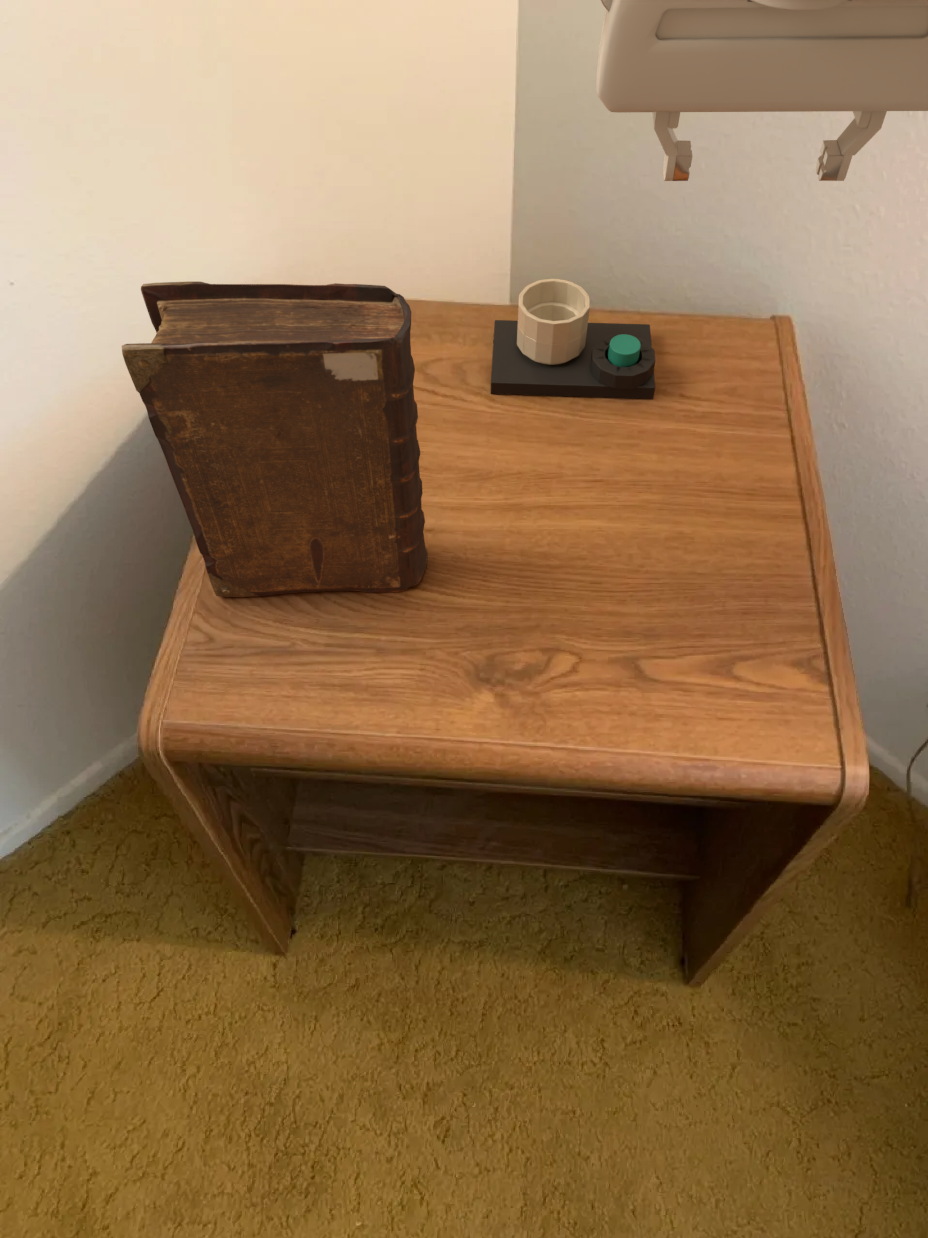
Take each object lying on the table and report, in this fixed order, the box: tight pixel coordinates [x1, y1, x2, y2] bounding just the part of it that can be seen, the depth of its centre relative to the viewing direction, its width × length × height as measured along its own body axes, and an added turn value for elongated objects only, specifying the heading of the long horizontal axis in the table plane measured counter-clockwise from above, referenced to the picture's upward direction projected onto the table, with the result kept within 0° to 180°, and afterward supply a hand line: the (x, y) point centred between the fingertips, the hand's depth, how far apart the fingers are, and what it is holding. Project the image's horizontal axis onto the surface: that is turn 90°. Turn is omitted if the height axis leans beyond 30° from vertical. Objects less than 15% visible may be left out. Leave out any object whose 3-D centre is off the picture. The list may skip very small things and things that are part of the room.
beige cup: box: [517, 277, 591, 365], centre depth 85 cm, size 6×6×5 cm
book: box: [121, 281, 429, 598], centre depth 64 cm, size 17×7×25 cm, turn 85°
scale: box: [490, 319, 656, 400], centre depth 87 cm, size 15×9×3 cm, turn 87°
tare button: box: [608, 334, 641, 367], centre depth 84 cm, size 3×3×2 cm
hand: (751, 176), depth 58 cm, fingers open, 8 cm apart
